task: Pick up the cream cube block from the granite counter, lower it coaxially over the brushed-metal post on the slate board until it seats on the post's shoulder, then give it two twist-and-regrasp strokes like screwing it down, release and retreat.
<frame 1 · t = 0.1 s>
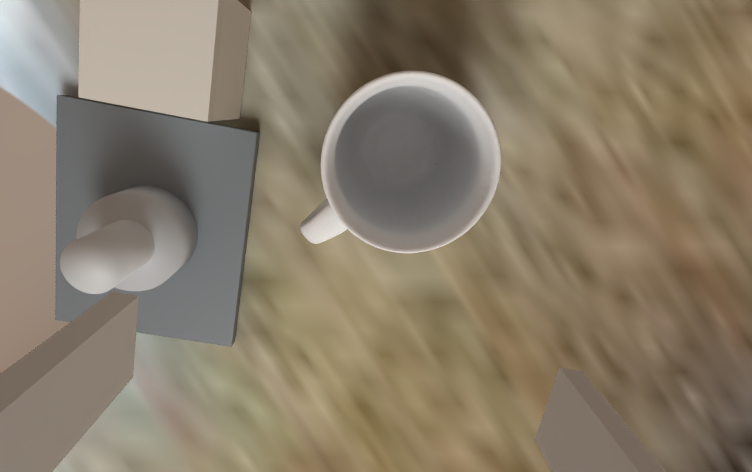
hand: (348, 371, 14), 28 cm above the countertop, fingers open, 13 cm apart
post base: (157, 227, 41), on the countertop
mug: (386, 155, 40), on the countertop
cream cube block: (193, 56, 38), on the countertop
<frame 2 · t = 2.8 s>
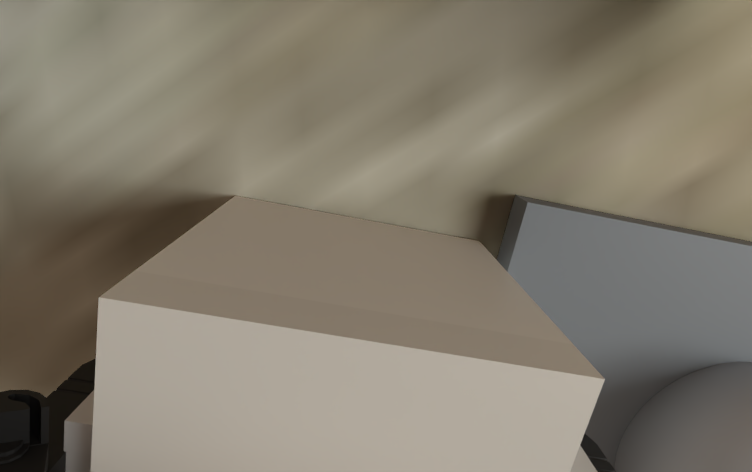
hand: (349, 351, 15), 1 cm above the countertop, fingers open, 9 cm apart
post base: (696, 433, 19), on the countertop
cream cube block: (338, 329, 17), on the countertop, touching gripper
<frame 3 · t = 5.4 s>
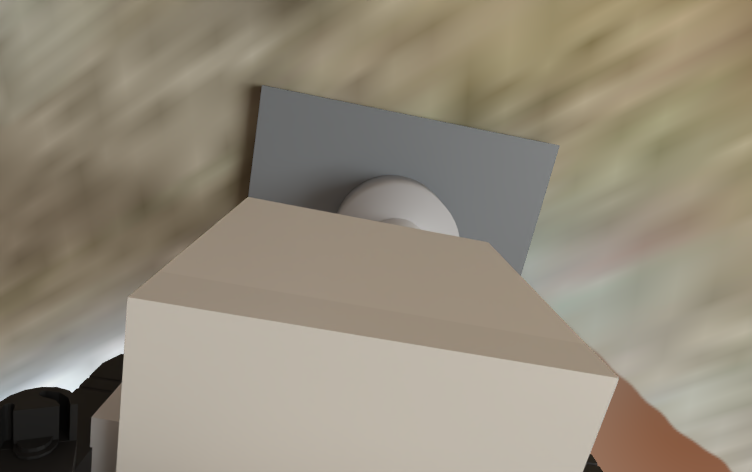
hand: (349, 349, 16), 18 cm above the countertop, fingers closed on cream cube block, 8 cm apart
post base: (389, 227, 33), on the countertop
cream cube block: (348, 329, 17), point 17 cm above the countertop, touching gripper
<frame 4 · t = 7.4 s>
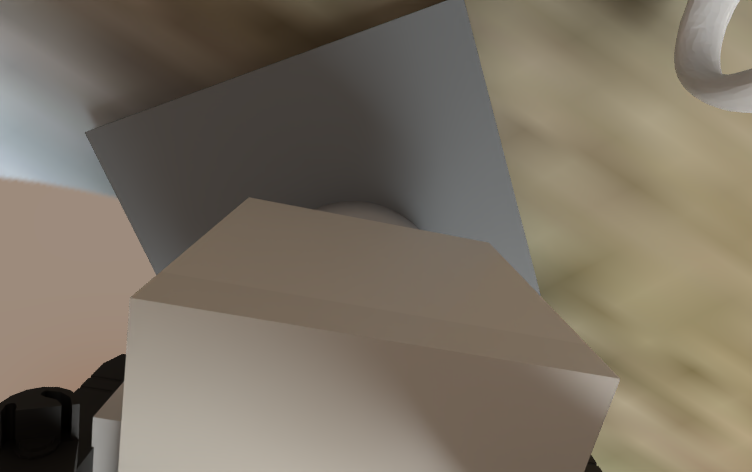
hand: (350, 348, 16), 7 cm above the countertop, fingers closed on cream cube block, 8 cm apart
post base: (353, 278, 22), on the countertop
cream cube block: (349, 329, 17), point 5 cm above the countertop, touching gripper
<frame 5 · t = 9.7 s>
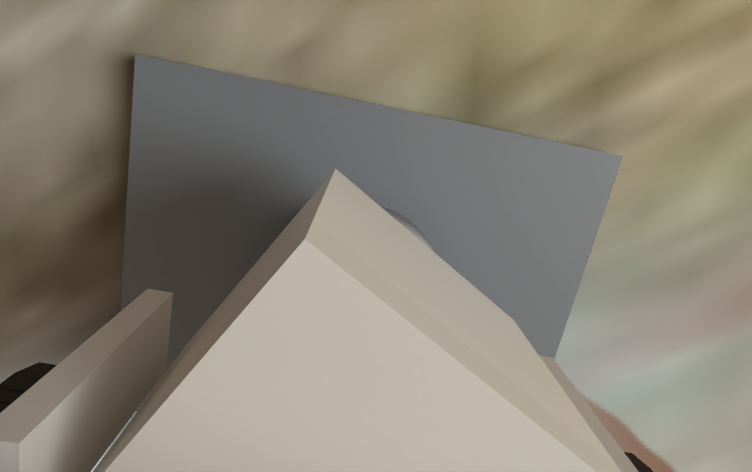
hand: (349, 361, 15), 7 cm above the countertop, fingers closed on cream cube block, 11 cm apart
post base: (353, 279, 22), on the countertop
cream cube block: (350, 331, 17), point 5 cm above the countertop, touching gripper, post base
when the fingers open (9 cm above the countertop, at t = 11.4 s): cream cube block drops 2 cm, resting on post base.
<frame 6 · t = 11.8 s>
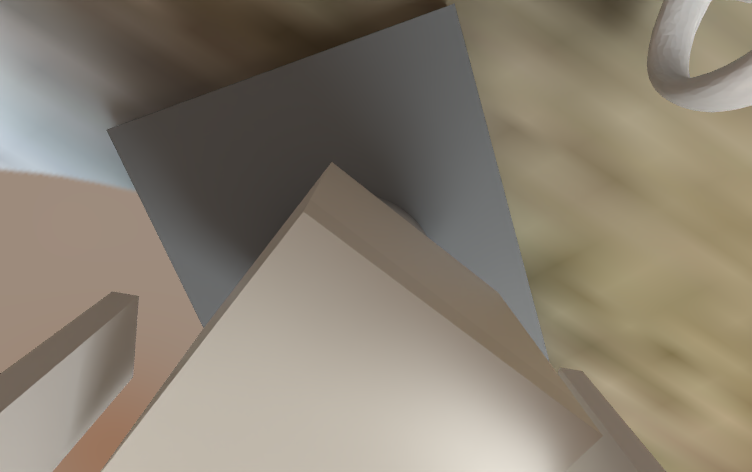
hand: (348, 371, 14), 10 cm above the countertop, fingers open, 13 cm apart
post base: (354, 266, 24), on the countertop
cream cube block: (351, 309, 19), point 5 cm above the countertop, touching post base
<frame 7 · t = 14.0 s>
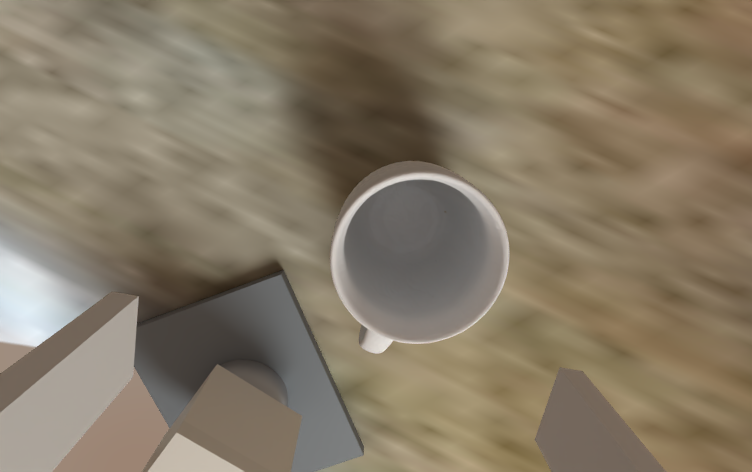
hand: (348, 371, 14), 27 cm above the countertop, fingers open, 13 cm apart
post base: (248, 390, 44), on the countertop
mug: (398, 226, 41), on the countertop
cream cube block: (233, 425, 39), point 5 cm above the countertop, touching post base
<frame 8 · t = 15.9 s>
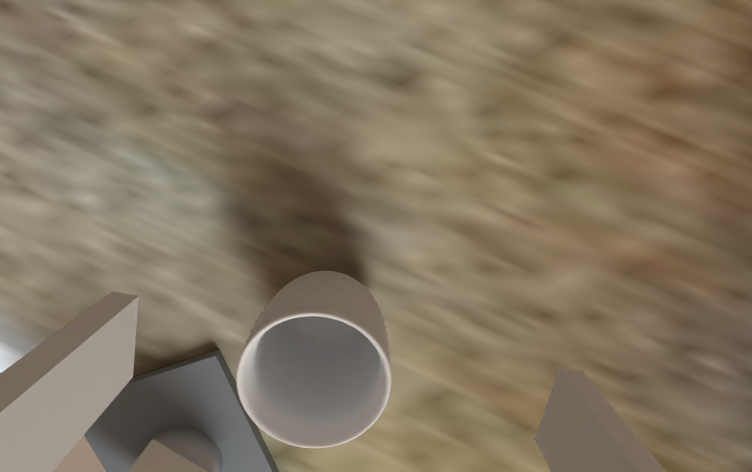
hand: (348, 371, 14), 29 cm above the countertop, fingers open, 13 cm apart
post base: (187, 452, 49), on the countertop
mug: (324, 314, 45), on the countertop
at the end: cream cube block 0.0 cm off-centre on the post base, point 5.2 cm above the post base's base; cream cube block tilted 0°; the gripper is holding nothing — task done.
